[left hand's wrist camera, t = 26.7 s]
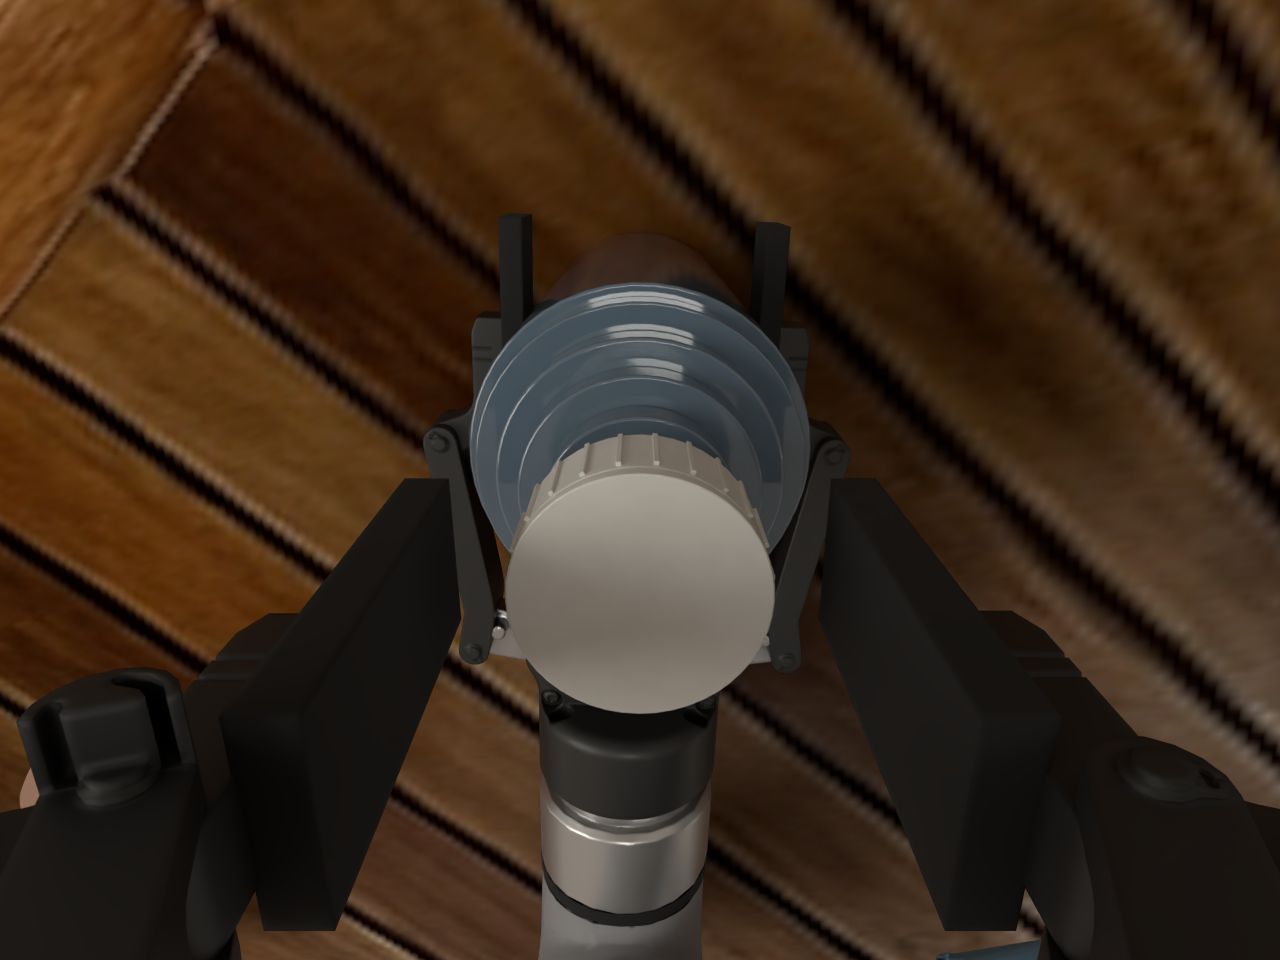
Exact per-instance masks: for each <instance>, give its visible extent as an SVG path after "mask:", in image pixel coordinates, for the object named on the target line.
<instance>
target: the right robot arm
mask: <svg viewBox="0 0 1280 960" xmlns="http://www.w3.org/2000/svg"><path fill="white" fill-rule="evenodd" d="M498 222H499V260H500V298H501V312H487V311H484V312H482V313H481V314H480V315H479V316H478V317H477V318H476V320H475V323H474V326H473V329H472V331H471V338H472V359H473V361H472V363H473V388H474V401H473V404H472V405H470V406H467V407H464V408H461V409H458V410H448V411H445V412H444V413H443V414H442V415H441V416H440V417H439V418H438V419H437V421H436V422H435V423H434V424H433V425H432V426H431V428H430V429H429V430H428V431H427V433H426V434H425V436H424V438H423V446H424V450H425V455H426V459H427V463H428V467H429V471H430V475H431V479H449V484H450V495H451V507H452V518H453V530H454V542H455V553H456V565H457V576H458V588H459V592H460V596H461V600H462V604H463V609H464V619H463V625H462V632H461V638H460V645H459V654H460V656H461V658H462V659H463V660H464V661H465V662H467V663H469V664H480V663H483V662H484V661H485V660H486V659H487V658H488V656H489V653H490V654H496V655H501V656H507V657H513V658H518V659H524V660H526V662H527V665H528V667H529V669H530V671H531V672H532V674H533V675H534V677H535V679H536V681H537V683H538V687H539V723H540V765H541V770H542V775H541V780H540V805H541V843H542V853H541V854H542V867H543V886H542V927H541V942H540V952H539V960H702V950H701V921H702V896H703V874H704V869H705V858H706V854H707V846H708V832H709V819H710V805H711V789H712V780H711V774H712V771H713V765H714V752H715V739H716V727H717V714H718V701H719V693H720V691H718V692H717V693H715V694H713V695H711V696H709V697H707V698H705V699H704V700H701V701H699V702H696V703H694V704H691V705H689V706H686V707H682V708H678V709H675V710H671V711H664V712H658V713H643V714H636V713H621V712H616V711H610V710H605V709H601V708H598V707H595V706H591V705H588V704H586V703H584V702H581V701H579V700H577V699H574V698H573V697H571V696H569V695H567V694H566V693H564V692H562V691H560V690H559V689H558V688H556V687H555V686H554V685H552V684H551V683H549V682H548V681H547V680H546V679H545V678H544V677H543V676H542V675H541V674H540V673H539V672H537V671H536V669H535V668H534V667H533V666H532V665H531V663H530V662H529V661H528V660H527V658H526V657H525V655H524V654H523V652H522V650H521V649H520V647H519V646H518V644H517V642H516V639H515V637H514V635H513V633H512V630H511V627H510V624H509V620H508V616H507V611H506V603H505V598H504V599H503V594H504V578H503V572H502V567H501V562H500V558H499V553H498V549H497V544H496V540H495V535H494V531H493V527H492V524H491V522H490V520H489V518H488V516H487V514H486V512H485V510H484V508H483V506H482V504H481V501H480V498H479V495H478V492H477V489H476V487H475V483H474V478H473V473H472V468H471V461H470V444H469V441H470V429H471V419H472V415H473V410H474V406H475V401H476V398H477V395H478V393H479V390H480V387H481V385H482V382H483V379H484V378H485V376H486V374H487V372H488V370H489V368H490V367H491V365H492V363H493V361H494V359H495V358H496V357H497V355H498V354H499V353H500V351H501V350H502V349H503V347H504V346H505V345H506V343H507V342H508V341H509V339H510V338H511V337H512V336H513V334H514V333H515V332H516V331H517V329H518V328H519V327H520V326H521V324H522V323H523V322H524V321H525V320H526V318H527V317H528V316H529V315H530V313H531V312H532V311H533V262H532V214H507V215H504V216H500V217H498ZM790 229H791V227H789V226H786V225H783V224H780V223H773V222H757V223H756V236H755V249H754V261H753V274H752V287H751V299H750V312H749V313H750V314H751V316H752V317H753V318H754V319H755V321H756V322H757V323H758V324H759V326H760V327H761V328H762V329H763V330H764V332H765V333H766V334H767V335H768V337H769V338H770V339H771V340H772V342H773V343H774V344H775V345H776V347H777V348H778V350H779V351H780V352H781V354H782V355H783V357H784V358H785V360H786V361H787V363H788V364H789V366H790V368H791V370H792V372H793V374H794V376H795V378H796V380H797V382H798V384H799V387H800V390H801V393H802V396H803V399H804V394H805V385H806V375H807V366H808V356H809V347H810V342H809V338H808V335H807V331H806V328H805V327H803V326H802V325H801V324H800V323H799V322H788V321H782V316H783V305H784V294H785V283H786V272H787V262H788V251H789V240H790ZM808 420H809V425H810V444H811V449H810V460H809V470H808V474H807V478H806V483H805V487H804V490H803V493H802V496H801V498H800V501H799V504H798V506H797V509H796V511H795V512H794V514H793V517H792V519H791V521H790V523H789V525H788V527H787V528H786V530H785V532H784V534H783V536H782V537H781V539H780V540H779V542H778V543H777V544H776V546H775V547H774V549H773V550H772V551H771V553H770V556H769V559H770V562H771V565H772V568H773V571H774V574H775V580H774V582H775V605H774V611H773V617H772V621H771V624H770V627H769V631H768V633H767V635H766V637H765V640H764V642H763V644H762V646H761V648H760V649H759V651H758V652H757V654H756V655H755V657H754V658H753V660H752V661H751V662H750V664H757V663H765V662H771V663H772V666H773V668H774V669H775V670H776V671H777V672H780V673H782V674H788V673H792V672H794V671H795V670H797V669H798V668H799V666H800V665H801V660H802V658H801V647H800V635H799V623H798V622H799V619H800V616H801V613H802V610H803V606H804V603H805V600H806V597H807V594H808V591H809V587H810V584H811V581H812V578H813V575H814V572H815V568H816V565H817V562H818V559H819V556H820V553H821V550H822V546H823V543H824V540H825V537H826V530H827V518H828V507H829V495H830V484H831V479H844V477H845V474H846V470H847V467H848V464H849V461H850V455H851V452H850V449H849V447H848V446H847V444H846V443H845V442H844V440H843V439H842V438H841V437H840V435H839V434H838V433H837V431H836V430H835V429H834V428H833V427H832V426H831V424H829V423H827V422H818V421H816V420H813V419H811V418H808ZM1040 944H1041V940H1036V941H1029V942H1023V943H1017V944H1011V945H1005V946H999V947H993V948H987V949H981V950H975V951H969V952H963V953H957V954H953V953H944V954H940V955H938V956H937V959H936V960H1037V957H1038V953H1039V949H1040Z"/></svg>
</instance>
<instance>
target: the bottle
mask: <svg viewBox="0 0 1280 960" xmlns="http://www.w3.org/2000/svg"><path fill="white" fill-rule="evenodd" d="M653 433H657V434H658V436H662V437H667V438H672V439H675V440H678V441H681V442H684V443H686V441H689V442H691V444H692V446H694V447H696V448H698V449H700V450H702V451H704V452H705V453H707V454H708V455H710V456H711V457H713V458H714V459H716V457H718V458H719V459H720V460H721V463H722V465H723V466H724V467H725V468H726V469H727V470H728V471H729V472H730V473H731V474H732V475H733V476H734V478H735V479H736V480H737V481H740V480H741V481H742V483H743V485H744V488H745V491H746V494H747V497H748V499H749V502H750V504H751V506H752V508H753V509H754V508H756V509H757V512H758V515H759V518H760V520H761V523H762V526H763V529H764V532H765V535H766V538H767V540H768V543H769V546H770V547H768V548H766V550H767V552H768V555H769V554H770V553H771V551H772V550H773V549H774V547H775V546H776V544H777V543H778V542H779V540H780V539H781V537H782V536H783V534H784V532H785V530H786V528H787V527H788V525H789V523H790V521H791V519H792V517H793V514H794V512H795V511H796V509H797V506H798V504H799V501H800V498H801V496H802V493H803V490H804V487H805V483H806V478H807V474H808V470H809V460H810V449H811V444H810V425H809V420H808V415H807V409H806V404H805V401H804V399H803V396H802V393H801V390H800V387H799V384H798V382H797V380H796V378H795V376H794V374H793V372H792V370H791V368H790V366H789V364H788V363H787V361H786V360H785V358H784V357H783V355H782V354H781V352H780V351H779V350H778V348H777V347H776V345H775V344H774V343H773V342H772V340H771V339H770V338H769V337H768V335H767V334H766V333H765V332H764V330H763V329H762V328H761V327H760V326H759V324H758V323H757V322H756V321H755V319H754V318H753V317H752V316H751V314H750V313H749V312H748V311H747V309H746V308H745V307H744V306H743V305H742V303H741V302H740V301H739V300H738V298H737V297H736V296H735V295H734V293H733V292H732V291H731V290H730V288H729V287H728V286H727V285H726V283H725V282H724V281H723V280H722V279H721V277H720V276H719V275H718V274H717V272H716V271H715V270H714V269H713V267H712V266H711V265H710V264H709V263H708V262H707V261H706V260H705V259H704V258H703V257H702V256H701V255H700V254H698V253H697V252H696V251H695V250H693V249H692V248H690V247H688V246H687V245H685V244H684V243H681V242H679V241H677V240H675V239H673V238H669V237H666V236H663V235H658V234H652V233H629V234H622V235H618V236H614V237H610V238H608V239H605V240H603V241H601V242H598V243H597V244H595V245H593V246H592V247H590V248H588V249H587V250H585V251H584V252H583V253H582V254H580V255H579V256H578V257H577V258H576V259H575V260H574V261H573V262H572V263H571V264H570V265H569V266H568V268H567V269H566V270H565V271H564V272H563V274H562V275H561V276H560V277H559V279H558V280H557V281H556V282H555V284H554V285H553V286H552V287H551V289H550V290H549V291H548V292H547V294H546V295H545V296H544V297H543V298H542V300H541V301H540V302H539V303H538V305H537V306H536V307H535V308H534V310H533V311H532V312H531V313H530V315H529V316H528V317H527V318H526V320H525V321H524V322H523V323H522V324H521V326H520V327H519V328H518V329H517V331H516V332H515V333H514V334H513V336H512V337H511V338H510V339H509V341H508V342H507V343H506V345H505V346H504V347H503V349H502V350H501V351H500V353H499V354H498V355H497V357H496V358H495V359H494V361H493V363H492V365H491V367H490V368H489V370H488V372H487V374H486V376H485V378H484V379H483V382H482V385H481V387H480V390H479V393H478V395H477V398H476V401H475V406H474V410H473V415H472V419H471V429H470V441H469V444H470V461H471V468H472V473H473V478H474V483H475V487H476V489H477V492H478V495H479V498H480V501H481V504H482V506H483V508H484V510H485V512H486V514H487V516H488V518H489V520H490V522H491V524H492V526H493V528H494V530H495V532H496V534H497V535H498V537H499V538H500V540H501V541H502V543H503V544H504V546H505V547H506V549H507V550H508V551H509V550H510V546H511V544H512V541H513V538H514V535H515V532H516V529H517V526H518V524H519V521H520V518H521V515H522V512H526V511H527V508H528V505H529V502H530V499H531V496H532V493H533V490H534V488H535V486H536V484H539V485H540V484H541V483H542V481H543V480H544V479H545V478H546V476H547V475H548V474H549V473H550V472H551V471H552V470H553V469H554V468H555V465H556V462H557V461H559V460H561V462H562V461H563V460H564V459H566V458H567V457H569V456H570V455H572V454H573V453H575V452H576V451H578V450H580V449H582V448H584V446H585V444H587V443H590V445H591V444H593V443H596V442H599V441H602V440H605V439H608V438H613V437H618V434H623V436H624V435H641V434H642V435H653ZM509 552H510V551H509ZM510 553H511V555H512V553H513V552H510Z"/></svg>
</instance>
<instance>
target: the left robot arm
mask: <svg viewBox="0 0 1280 960" xmlns="http://www.w3.org/2000/svg"><path fill="white" fill-rule="evenodd" d="M460 621H461V611H460V600H459V588H458V576H457V565H456V553H455V542H454V530H453V518H452V507H451V495H450V484H449V479H404V480H403V481H402V482H401V484H400V485H399V486H398V488H397V489H396V490H395V491H394V493H393V494H392V495H391V497H390V498H389V499H388V500H387V502H386V503H385V504H384V505H383V507H382V508H381V509H380V511H379V512H378V513H377V514H376V516H375V517H374V518H373V520H372V521H371V522H370V523H369V525H368V526H367V527H366V528H365V530H364V531H363V532H362V534H361V535H360V536H359V537H358V539H357V540H356V541H355V543H354V544H353V545H352V546H351V548H350V549H349V550H348V551H347V553H346V554H345V555H344V557H343V558H342V559H341V560H340V562H339V563H338V564H337V566H336V567H335V568H334V569H333V571H332V572H331V573H330V574H329V576H328V577H327V578H326V580H325V581H324V582H323V583H322V585H321V586H320V587H319V589H318V590H317V591H316V592H315V594H314V595H313V596H312V597H311V599H310V600H309V601H308V603H307V604H306V605H305V606H304V608H303V609H302V610H301V612H300V613H269V614H267V615H266V616H264V617H262V618H261V619H259V620H257V621H256V622H254V623H252V624H251V625H249V626H248V627H246V628H244V629H243V630H241V631H239V632H238V633H236V634H235V635H234V637H233V638H232V639H231V640H230V641H229V642H228V643H227V644H226V646H225V647H224V648H223V649H222V650H221V651H220V652H219V654H218V655H217V656H216V661H211V663H210V664H209V665H208V666H207V667H206V668H205V669H204V670H203V672H202V673H201V674H200V675H199V680H195V681H194V682H193V683H192V684H191V685H190V686H189V687H188V689H187V690H186V691H185V692H184V693H183V694H182V691H181V687H180V682H179V679H177V678H176V677H175V676H173V675H172V674H171V673H169V672H168V671H166V670H160V669H154V668H149V667H137V668H123V669H115V670H111V671H107V672H103V673H98V674H94V675H90V676H86V677H84V678H82V679H79V680H77V681H74V682H72V683H69V684H67V685H65V686H62V687H60V688H57V689H56V690H54V691H52V692H51V693H49V694H48V695H46V696H44V697H43V698H41V699H40V700H38V701H36V702H35V703H33V704H32V705H31V706H30V707H29V708H28V709H27V710H26V711H25V712H24V713H23V715H22V716H21V717H20V718H19V719H18V720H17V721H16V723H17V726H18V729H19V732H20V736H21V739H22V742H23V745H24V748H25V751H26V755H27V758H28V761H29V764H30V767H31V770H32V774H33V777H34V780H35V783H36V786H37V789H38V792H39V797H38V799H37V801H36V803H35V805H33V806H29V807H26V808H21V809H16V810H11V811H7V812H2V813H0V960H242V959H241V952H240V944H239V940H238V935H237V931H236V926H237V924H238V922H239V920H240V918H241V916H242V915H243V913H244V911H245V909H246V907H247V905H248V903H249V902H250V900H251V898H252V896H253V894H254V892H255V891H256V896H257V901H258V905H259V910H260V915H261V919H262V924H263V929H264V931H335V930H336V927H337V925H338V922H339V920H340V917H341V915H342V912H343V910H344V907H345V905H346V902H347V900H348V898H349V895H350V893H351V890H352V888H353V885H354V883H355V880H356V878H357V875H358V873H359V870H360V868H361V865H362V863H363V860H364V858H365V856H366V853H367V851H368V848H369V846H370V843H371V841H372V838H373V836H374V833H375V831H376V828H377V826H378V823H379V821H380V818H381V816H382V814H383V811H384V809H385V806H386V804H387V801H388V799H389V796H390V794H391V791H392V789H393V786H394V784H395V781H396V779H397V776H398V774H399V772H400V769H401V767H402V764H403V762H404V759H405V757H406V754H407V752H408V749H409V747H410V744H411V742H412V739H413V737H414V735H415V732H416V730H417V727H418V725H419V722H420V720H421V717H422V715H423V712H424V710H425V707H426V705H427V702H428V700H429V697H430V695H431V693H432V690H433V688H434V685H435V683H436V680H437V678H438V675H439V673H440V670H441V668H442V665H443V663H444V660H445V658H446V655H447V653H448V651H449V648H450V646H451V643H452V641H453V638H454V636H455V633H456V631H457V628H458V626H459V623H460ZM819 621H820V623H821V626H822V628H823V631H824V633H825V636H826V638H827V641H828V643H829V646H830V648H831V651H832V653H833V655H834V658H835V660H836V663H837V665H838V668H839V670H840V673H841V675H842V678H843V680H844V683H845V685H846V688H847V690H848V693H849V695H850V697H851V700H852V702H853V705H854V707H855V710H856V712H857V715H858V717H859V720H860V722H861V725H862V727H863V730H864V732H865V735H866V737H867V739H868V742H869V744H870V747H871V749H872V752H873V754H874V757H875V759H876V762H877V764H878V767H879V769H880V772H881V774H882V777H883V779H884V781H885V784H886V786H887V789H888V791H889V794H890V796H891V799H892V801H893V804H894V806H895V809H896V811H897V814H898V816H899V818H900V821H901V823H902V826H903V828H904V831H905V833H906V836H907V838H908V841H909V843H910V846H911V848H912V851H913V853H914V856H915V858H916V860H917V863H918V865H919V868H920V870H921V873H922V875H923V878H924V880H925V883H926V885H927V888H928V890H929V893H930V895H931V898H932V900H933V902H934V905H935V907H936V910H937V912H938V915H939V917H940V920H941V922H942V925H943V927H944V930H945V931H1016V929H1017V924H1018V919H1019V915H1020V910H1021V905H1022V901H1023V896H1024V891H1025V888H1026V890H1027V892H1028V894H1029V896H1030V897H1031V899H1032V901H1033V903H1034V905H1035V907H1036V908H1037V910H1038V912H1039V914H1040V916H1041V918H1042V920H1043V921H1044V923H1045V927H1044V931H1043V935H1042V940H1041V944H1040V949H1039V953H1038V957H1037V960H1280V809H1277V808H1272V807H1267V806H1262V805H1258V804H1254V803H1250V802H1246V801H1244V800H1243V798H1242V796H1241V794H1240V793H1239V791H1238V790H1237V789H1236V788H1235V786H1234V785H1233V784H1232V782H1231V781H1230V780H1229V779H1228V777H1227V776H1226V775H1225V774H1223V773H1222V772H1221V771H1219V770H1218V769H1216V768H1215V767H1214V766H1212V765H1211V764H1210V763H1208V762H1207V761H1206V760H1204V759H1203V758H1201V757H1199V756H1197V755H1194V754H1192V753H1190V752H1188V751H1186V750H1184V749H1182V748H1180V747H1178V746H1175V745H1173V744H1169V743H1166V742H1162V741H1158V740H1155V739H1151V738H1148V737H1142V736H1138V735H1137V734H1136V733H1135V732H1134V731H1133V730H1132V728H1131V727H1130V726H1129V725H1128V724H1127V723H1126V722H1125V721H1124V720H1123V718H1122V717H1121V716H1120V715H1119V714H1118V713H1117V712H1116V711H1115V709H1114V708H1113V707H1112V706H1111V705H1110V704H1109V703H1108V702H1107V700H1106V699H1105V698H1104V697H1103V696H1102V695H1101V694H1100V693H1099V691H1098V690H1097V689H1096V688H1095V687H1094V686H1093V685H1092V684H1091V683H1090V681H1089V680H1088V679H1087V678H1086V677H1082V675H1081V671H1080V670H1079V669H1078V668H1077V667H1076V666H1075V665H1074V663H1073V662H1072V661H1071V660H1070V659H1069V658H1065V656H1064V652H1063V651H1062V650H1061V649H1060V648H1059V647H1058V646H1057V644H1056V643H1055V642H1054V641H1053V640H1052V639H1051V638H1050V637H1049V635H1048V634H1047V633H1046V632H1045V631H1044V630H1043V629H1041V628H1039V627H1038V626H1036V625H1034V624H1033V623H1031V622H1029V621H1028V620H1026V619H1024V618H1023V617H1021V616H1019V615H1018V614H1016V613H1014V612H1013V611H979V610H978V609H977V608H976V606H975V605H974V604H973V603H972V601H971V600H970V599H969V597H968V596H967V595H966V594H965V592H964V591H963V590H962V589H961V587H960V586H959V585H958V583H957V582H956V581H955V580H954V578H953V577H952V576H951V574H950V573H949V572H948V571H947V569H946V568H945V567H944V566H943V564H942V563H941V562H940V560H939V559H938V558H937V557H936V555H935V554H934V553H933V551H932V550H931V549H930V548H929V546H928V545H927V544H926V543H925V541H924V540H923V539H922V537H921V536H920V535H919V534H918V532H917V531H916V530H915V528H914V527H913V526H912V525H911V523H910V522H909V521H908V520H907V518H906V517H905V516H904V514H903V513H902V512H901V511H900V509H899V508H898V507H897V505H896V504H895V503H894V502H893V500H892V499H891V498H890V497H889V495H888V494H887V493H886V491H885V490H884V489H883V488H882V486H881V485H880V484H879V482H878V481H877V480H876V479H831V484H830V495H829V507H828V518H827V530H826V542H825V553H824V565H823V576H822V588H821V600H820V611H819Z"/></svg>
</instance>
